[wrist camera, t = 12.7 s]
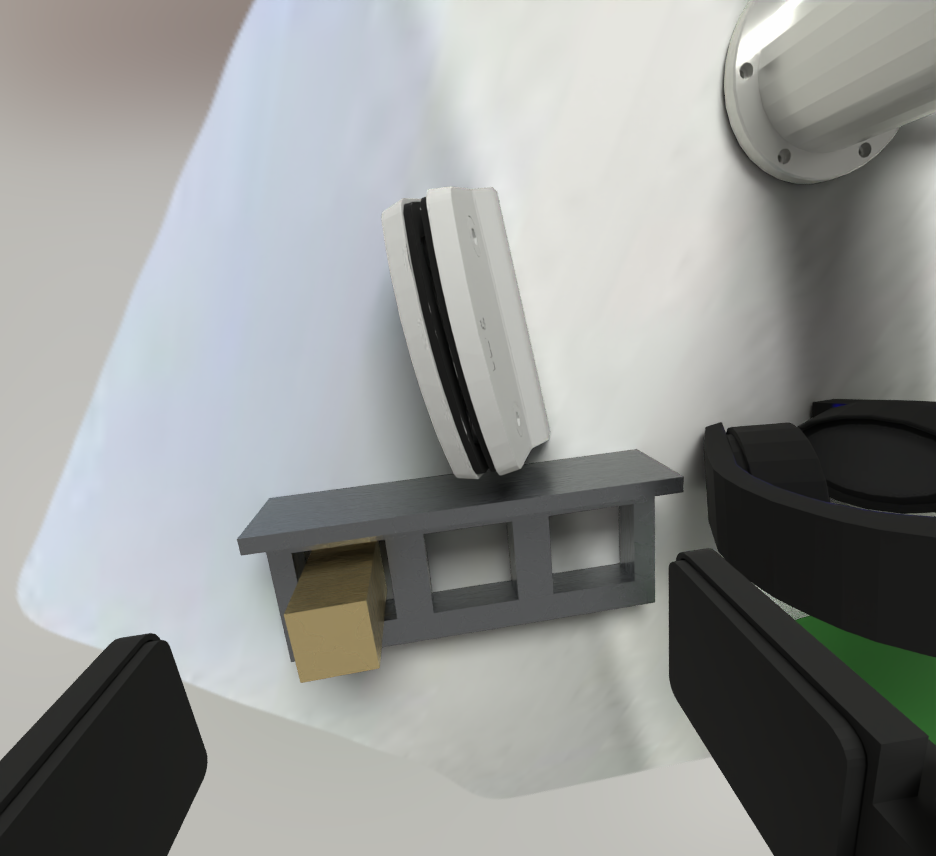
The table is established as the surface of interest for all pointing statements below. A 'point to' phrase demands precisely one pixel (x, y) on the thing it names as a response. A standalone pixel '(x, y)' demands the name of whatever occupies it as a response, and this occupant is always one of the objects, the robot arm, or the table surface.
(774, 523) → the headphones
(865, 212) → the table surface
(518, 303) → the white game console
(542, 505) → the grey slotted rack
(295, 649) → the brass peg
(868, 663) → the hardback book
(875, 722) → the robot arm
